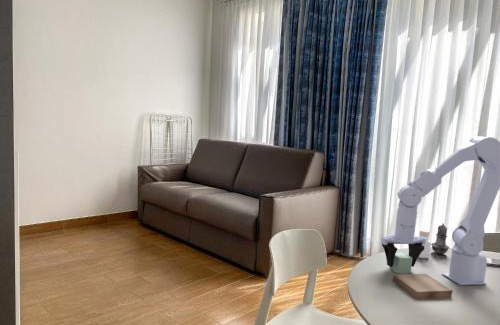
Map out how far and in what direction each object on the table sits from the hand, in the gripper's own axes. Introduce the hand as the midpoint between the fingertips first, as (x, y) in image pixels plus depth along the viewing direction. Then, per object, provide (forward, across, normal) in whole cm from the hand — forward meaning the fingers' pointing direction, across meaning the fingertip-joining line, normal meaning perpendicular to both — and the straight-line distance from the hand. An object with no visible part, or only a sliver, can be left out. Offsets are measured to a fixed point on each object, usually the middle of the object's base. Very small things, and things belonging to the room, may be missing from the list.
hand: (400, 265), depth 123 cm
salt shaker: (+2, -24, -12) cm, 27 cm away
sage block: (+2, 0, 0) cm, 2 cm away
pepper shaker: (+2, -16, -11) cm, 19 cm away
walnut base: (+2, +2, +13) cm, 13 cm away
